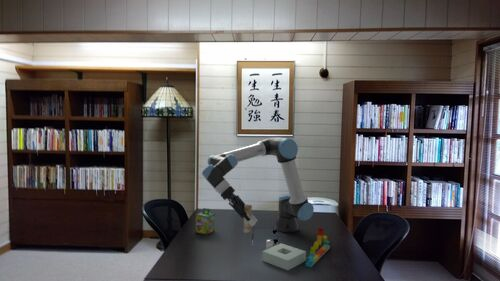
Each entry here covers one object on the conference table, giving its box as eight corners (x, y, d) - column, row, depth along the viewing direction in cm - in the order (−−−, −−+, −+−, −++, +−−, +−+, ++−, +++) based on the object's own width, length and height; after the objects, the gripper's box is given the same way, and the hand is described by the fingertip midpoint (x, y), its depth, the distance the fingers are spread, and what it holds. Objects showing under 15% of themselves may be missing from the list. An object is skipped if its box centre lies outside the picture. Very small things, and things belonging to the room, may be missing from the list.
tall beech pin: (247, 229, 179) (247, 204, 178) (252, 231, 176) (253, 205, 175) (242, 231, 176) (242, 205, 175) (247, 233, 173) (248, 206, 172)
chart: (311, 268, 166) (312, 238, 165) (305, 266, 167) (306, 237, 166) (330, 248, 192) (331, 223, 191) (324, 247, 193) (325, 222, 193)
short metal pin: (269, 247, 191) (269, 238, 190) (274, 249, 188) (274, 240, 188) (264, 249, 188) (264, 240, 187) (270, 251, 185) (270, 242, 185)
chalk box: (195, 232, 211) (195, 209, 210) (202, 228, 220) (202, 206, 219) (207, 235, 208) (208, 211, 207) (214, 230, 216) (215, 208, 215)
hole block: (280, 252, 184) (281, 243, 184) (305, 260, 173) (306, 251, 173) (262, 260, 172) (262, 251, 172) (287, 270, 161) (288, 260, 161)
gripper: (224, 191, 186) (252, 223, 184) (215, 198, 169) (246, 233, 167) (234, 182, 185) (262, 214, 182) (225, 188, 168) (257, 223, 166)
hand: (254, 223), depth 175 cm, fingers closed on tall beech pin, 4 cm apart
